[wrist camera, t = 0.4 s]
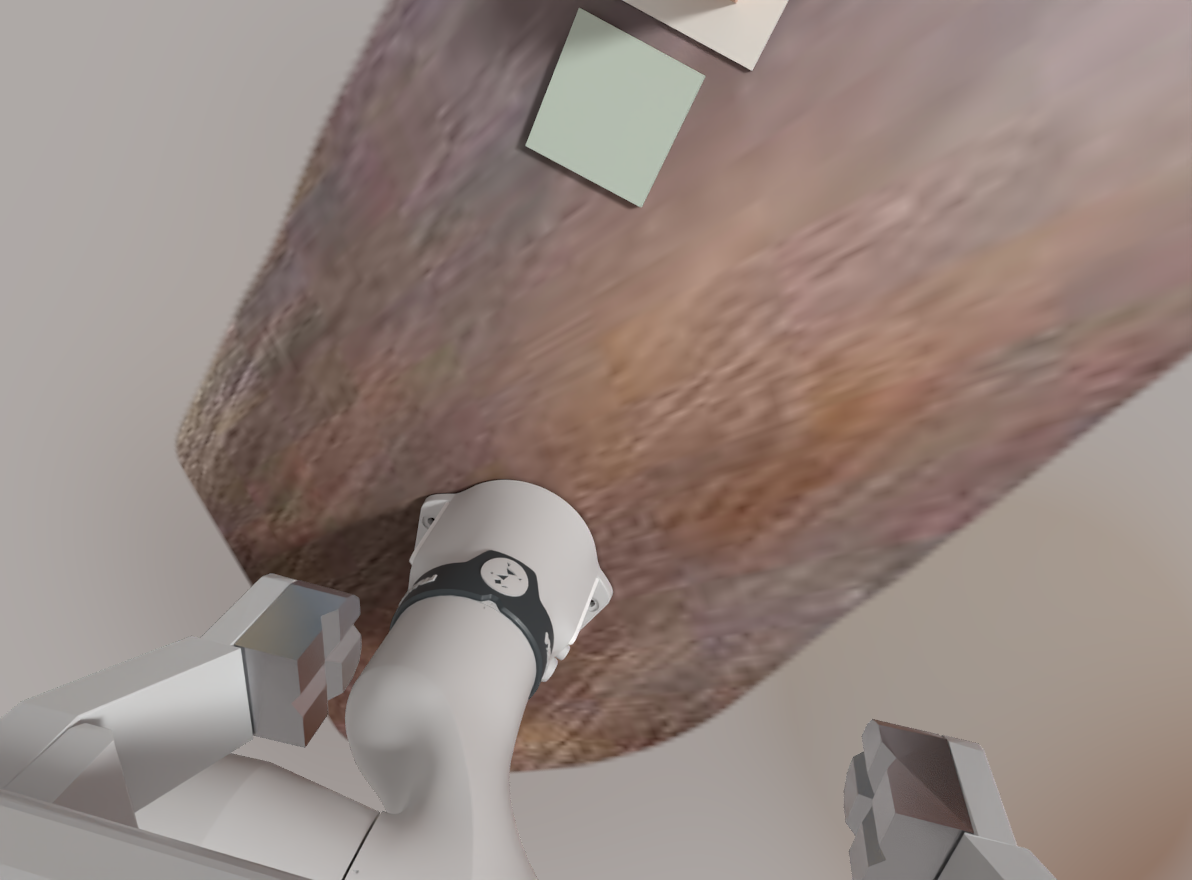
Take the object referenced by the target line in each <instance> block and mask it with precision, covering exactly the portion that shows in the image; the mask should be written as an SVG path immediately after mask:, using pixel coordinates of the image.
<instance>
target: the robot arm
mask: <svg viewBox="0 0 1192 880" xmlns="http://www.w3.org/2000/svg"><path fill="white" fill-rule="evenodd" d="M431 518H434V519H435V520H434V521H433V520H432V519H431ZM409 561H410V563H411V564H412V567H411V571H410V578H409V587H408V591H407V593H406V594H405V595H404V597H403V599H402V600H401V602H400V603H399V607H398V609H397V610H396V613H395V614H394V616H393V618H392V622H391V625H390V632H389V633H388V635H387V636H386V637H385V639H384V640H383V642H382V643H381V645H380V646H379V648H378V649H377V651H376V652H375V654H374V655H373V657H372V658H371V660H370V661H369V663H368V664H367V666H366V667H365V669H364V670H363V672H362V673H361V675H360V676H359V678H358V679H357V681H356V682H355V684H354V685H353V688H352V690H351V692H350V695H349V698H348V701H347V706H346V715H345V724H346V733H347V737H348V741H349V745H350V749H351V752H352V755H353V758H354V761H355V763H356V765H357V766H358V769H359V770H360V772H361V773H362V775H363V776H364V778H365V779H366V781H367V782H368V783H369V785H370V786H371V787H372V789H373V790H374V791H375V792H376V794H377V796H378V797H379V798H380V800H381V802H382V804H383V805H384V808H385V810H386V812H385V811H382V813H381V814H380V812H379V811H376V810H374V809H372V808H370V807H367V806H365V805H363V804H361V803H359V802H357V801H354V800H352V799H350V798H347V797H345V796H343V795H341V794H339V793H337V792H335V791H332V790H330V789H328V788H326V787H324V786H321V785H319V784H317V783H315V782H313V781H311V780H308V779H306V778H304V777H302V776H300V775H297V774H295V773H293V772H291V771H289V770H287V769H284V768H282V767H280V766H277V765H275V764H273V763H271V762H267V761H263V760H259V759H254V758H250V757H245V756H241V755H237V754H232V753H231V752H233V751H234V750H236V749H238V748H239V747H241V746H242V745H244V744H246V743H247V742H249V741H251V740H252V739H253V736H258V737H262V738H266V739H270V740H274V741H279V742H283V743H287V744H291V745H296V746H300V747H304V748H305V747H306V746H307V745H308V743H309V742H310V740H311V739H312V737H313V736H314V734H315V733H316V731H317V730H318V729H319V727H320V725H321V724H322V723H323V721H324V720H325V718H326V717H327V715H328V700H329V699H331V698H333V697H335V696H337V695H339V694H341V693H343V692H344V690H345V689H346V687H347V686H348V684H349V683H350V681H351V679H352V678H353V675H354V672H355V670H356V667H357V665H358V662H359V659H360V653H361V634H360V633H359V632H358V630H357V629H356V627H355V626H354V625H353V624H354V622H355V621H356V620H357V618H358V617H359V616H360V603H359V598H358V597H356V596H355V595H353V594H350V593H346V592H342V591H338V590H335V589H331V588H327V587H323V586H320V585H316V584H312V583H308V582H305V581H301V580H295V579H291V578H287V577H284V576H280V575H276V574H273V573H270V574H268V575H265V576H262V577H261V578H260V579H259V580H258V581H257V582H256V583H255V584H254V585H253V586H252V587H251V588H250V589H249V590H248V591H247V592H246V593H245V594H244V595H243V596H242V597H241V598H240V599H239V600H238V601H237V602H236V603H235V604H234V605H233V606H232V607H231V608H230V609H229V610H228V611H227V612H226V613H225V614H224V615H223V616H222V617H220V618H219V619H218V620H217V621H216V622H215V624H213V625H212V626H211V628H209V629H208V631H206V632H205V633H204V634H203V635H202V636H201V637H200V638H199V637H195V636H190V637H187V638H184V639H182V640H179V641H177V642H174V643H171V644H169V645H166V646H163V647H161V648H158V649H156V650H153V651H151V652H148V653H145V654H143V655H140V656H138V657H135V658H133V659H130V660H127V661H125V662H122V663H119V664H117V665H114V666H112V667H109V668H107V669H104V670H101V671H99V672H96V673H94V674H91V675H88V676H86V677H83V678H81V679H78V680H75V681H73V682H70V683H68V684H65V685H63V686H60V687H57V688H55V689H52V690H49V691H47V692H44V693H42V694H39V695H37V696H34V697H31V698H29V699H26V700H24V701H21V702H20V703H18V704H17V705H16V706H15V707H14V708H12V709H11V710H10V711H9V712H8V713H6V714H5V715H4V716H3V717H2V718H0V880H538V878H537V876H536V874H535V872H534V870H533V868H532V866H531V864H530V863H529V860H528V858H527V855H526V853H525V850H524V847H523V845H522V842H521V839H520V836H519V833H518V829H517V826H516V822H515V818H514V813H513V809H512V803H511V796H510V784H509V783H510V782H509V775H510V764H511V758H512V754H513V750H514V745H515V741H516V737H517V734H518V730H519V726H520V723H521V719H522V716H523V713H524V710H525V707H526V704H527V701H528V700H529V699H530V698H531V697H532V696H533V694H534V693H535V692H536V690H537V689H538V687H539V684H540V682H541V681H542V682H546V681H547V680H548V679H549V678H550V676H551V675H552V674H553V672H554V670H555V668H556V666H557V663H558V661H557V659H556V658H555V657H557V658H558V659H560V660H563V659H564V658H565V657H566V655H567V654H568V652H569V649H570V646H569V645H572V644H573V643H574V641H575V640H576V638H577V635H578V633H579V631H580V630H581V629H582V628H583V627H584V626H585V625H586V624H587V623H588V622H589V621H590V620H592V619H593V618H594V617H595V616H596V615H597V614H598V613H599V612H600V611H601V610H602V609H603V608H604V607H605V606H606V605H607V604H608V603H609V601H610V599H611V597H612V594H613V590H612V587H611V584H610V583H609V581H608V579H607V578H606V576H605V575H604V573H603V572H602V570H601V569H600V567H599V564H598V560H597V554H596V548H595V544H594V540H593V538H592V535H591V533H590V531H589V529H588V527H587V525H586V524H585V522H584V521H583V519H582V518H581V516H580V515H579V514H578V513H577V512H576V511H575V510H574V509H573V508H572V507H571V506H570V505H569V504H568V503H567V502H566V501H564V500H563V499H562V498H560V497H559V496H557V495H556V494H554V493H552V492H550V491H548V490H546V489H544V488H542V487H539V486H537V485H534V484H531V483H527V482H522V481H516V480H495V481H489V482H484V483H481V484H478V485H476V486H473V487H471V488H469V489H467V490H465V491H463V492H460V493H456V494H436V495H431V496H429V497H427V498H426V500H425V501H424V503H423V505H422V507H421V512H420V518H419V524H418V531H417V537H416V543H415V549H414V552H413V553H412V555H411V558H410V560H409ZM591 599H592V600H593V601H594V602H591ZM568 644H569V645H568ZM862 741H863V748H864V752H862V753H860V754H858V755H856V756H854V757H853V759H852V761H851V764H850V766H849V769H848V772H847V776H846V782H845V788H844V813H845V822H846V824H847V825H848V826H849V828H850V829H851V831H852V832H853V833H854V835H855V839H854V841H853V843H852V845H851V848H850V850H849V856H850V864H851V872H852V880H1057V879H1056V878H1055V877H1054V876H1053V875H1052V874H1051V873H1050V871H1049V870H1048V869H1047V868H1046V867H1045V866H1044V865H1043V864H1042V863H1041V862H1040V861H1039V860H1038V859H1037V858H1036V857H1035V855H1034V854H1033V853H1032V852H1031V851H1030V850H1029V849H1026V848H1023V847H1019V846H1017V844H1016V840H1015V838H1014V835H1013V832H1012V829H1011V826H1010V823H1009V820H1008V817H1007V815H1006V812H1005V809H1004V806H1003V803H1002V800H1001V797H1000V794H999V792H998V789H997V786H996V783H995V780H994V777H993V775H992V771H991V769H990V766H989V763H988V760H987V757H986V754H985V751H984V749H983V748H982V747H981V746H980V745H979V743H975V742H970V741H967V740H962V739H958V738H953V737H949V736H944V735H942V736H940V735H939V734H935V733H931V732H926V731H922V730H918V729H913V728H909V727H905V726H900V725H896V724H891V723H888V722H883V721H879V720H875V719H872V720H871V721H870V722H869V723H868V724H867V726H866V728H865V731H864V733H863V735H862Z"/></svg>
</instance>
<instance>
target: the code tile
mask: <svg viewBox="0 0 1192 880" xmlns="http://www.w3.org/2000/svg"><path fill="white" fill-rule="evenodd" d="M622 1H624V2H626V3H628V4H630V5H632V6H633V7H635V8H637V9H639V10H641V11H643V12H645V13H646V14H648V15H650V16H652V17H654V18H656V19H657V20H659V21H661V22H663V23H665V24H667V25H668V26H670V27H672V28H674V29H676V30H678V31H679V32H681V33H683V34H685V35H687V36H689V37H691V38H692V39H694V40H696V41H698V42H700V43H702V44H703V45H705V46H707V47H709V48H711V49H713V50H714V51H716V52H718V53H720V54H722V55H724V56H725V57H727V58H729V59H731V60H733V61H735V62H736V63H738V64H740V65H742V66H744V67H746V68H748V69H749V70H751V71H752V70H753V68H754V66H755V65H756V63H757V61H758V59H759V57H760V55H761V53H762V51H763V49H764V47H765V45H766V43H767V41H768V39H769V37H770V35H771V33H772V32H773V30H774V28H775V26H776V24H777V22H778V20H779V18H780V16H781V14H782V12H783V10H784V8H785V6H786V4H787V2H788V0H738V1H737V3H734V2H732V1H731V0H622Z"/></svg>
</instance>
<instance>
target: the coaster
mask: <svg viewBox="0 0 1192 880" xmlns="http://www.w3.org/2000/svg"><path fill="white" fill-rule="evenodd" d="M704 78H705V76H704V75H703V74H701V73H699V72H697V71H695V70H693V69H692V68H690V67H688V66H686V65H684V64H682V63H680V62H679V61H677V60H675V59H673V58H671V57H669V56H668V55H666V54H664V53H662V52H660V51H658V50H657V49H655V48H653V47H651V46H649V45H647V44H645V43H644V42H642V41H640V40H638V39H636V38H634V37H633V36H631V35H629V34H627V33H625V32H623V31H621V30H620V29H618V28H616V27H614V26H612V25H610V24H609V23H607V22H605V21H603V20H601V19H599V18H598V17H596V16H594V15H592V14H590V13H588V12H586V11H585V10H583V9H581V8H579V9H578V12H577V14H576V17H575V20H574V22H573V25H572V27H571V30H570V32H569V35H568V37H567V40H566V43H565V45H564V48H563V50H562V53H561V55H560V58H559V61H558V63H557V66H556V68H555V71H554V73H553V76H552V79H551V81H550V84H549V86H548V89H547V91H546V94H545V97H544V99H543V102H542V104H541V107H540V109H539V112H538V115H537V117H536V120H535V122H534V125H533V127H532V130H531V133H530V135H529V138H528V140H527V143H526V145H525V146H527V147H528V148H530V149H532V150H534V151H536V152H538V153H540V154H542V155H543V156H545V157H547V158H549V159H551V160H553V161H555V162H557V163H558V164H560V165H562V166H564V167H566V168H568V169H570V170H571V171H573V172H575V173H577V174H579V175H581V176H583V177H585V178H586V179H588V180H590V181H592V182H594V183H596V184H598V185H600V186H601V187H603V188H605V189H607V190H609V191H611V192H613V193H615V194H616V195H618V196H620V197H622V198H624V199H626V200H628V201H630V202H631V203H633V204H635V205H637V206H639V207H642V206H643V204H644V202H645V200H646V198H647V196H648V193H649V191H650V189H651V187H652V185H653V183H654V181H655V179H656V177H657V175H658V173H659V171H660V169H661V167H662V165H663V163H664V161H665V159H666V157H667V154H668V152H669V150H670V148H671V146H672V144H673V142H674V140H675V138H676V136H677V134H678V132H679V130H680V128H681V126H682V124H683V122H684V120H685V117H686V115H687V113H688V111H689V109H690V107H691V105H692V103H693V101H694V99H695V97H696V95H697V93H698V91H699V89H700V87H701V85H702V83H703V81H704Z"/></svg>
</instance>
